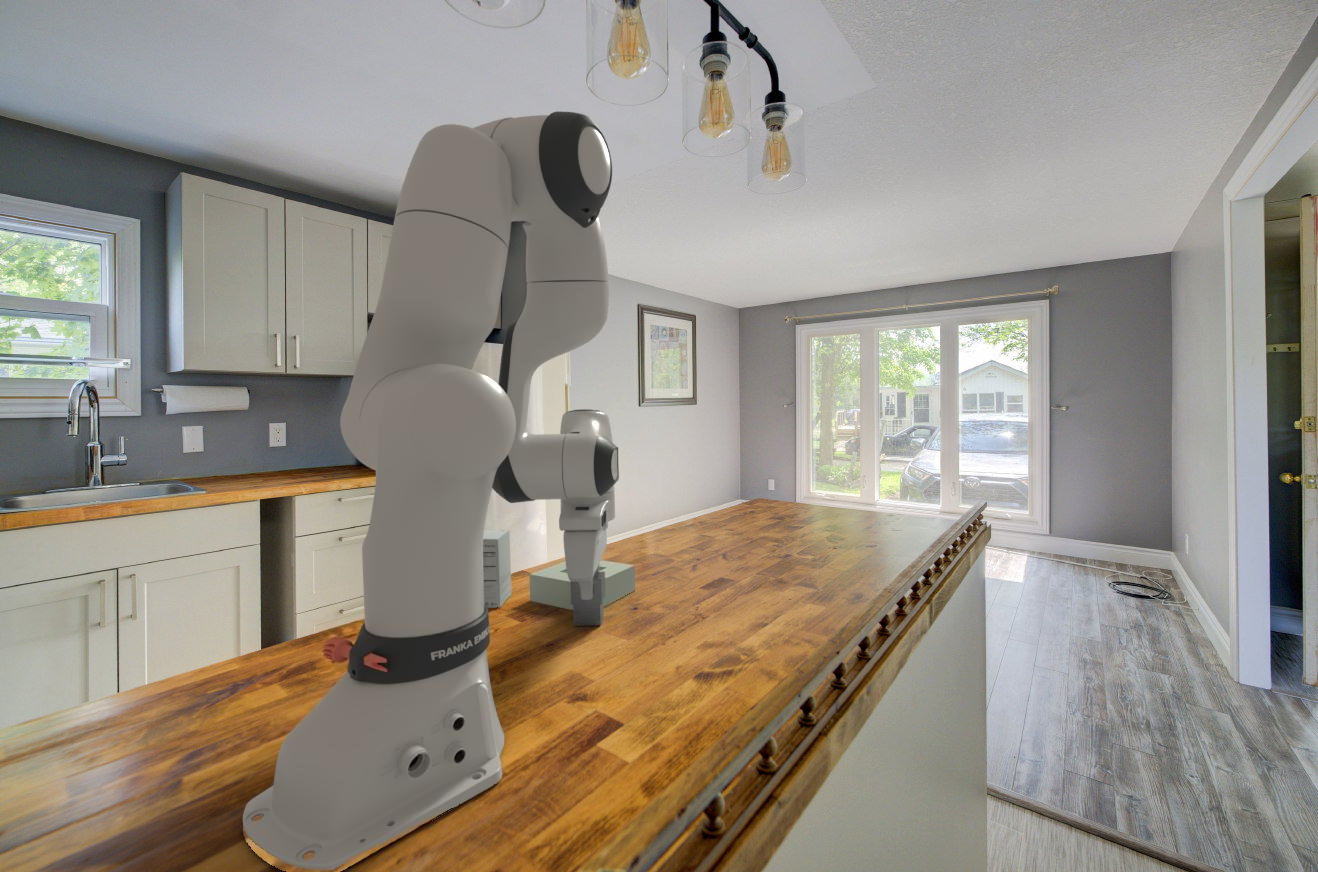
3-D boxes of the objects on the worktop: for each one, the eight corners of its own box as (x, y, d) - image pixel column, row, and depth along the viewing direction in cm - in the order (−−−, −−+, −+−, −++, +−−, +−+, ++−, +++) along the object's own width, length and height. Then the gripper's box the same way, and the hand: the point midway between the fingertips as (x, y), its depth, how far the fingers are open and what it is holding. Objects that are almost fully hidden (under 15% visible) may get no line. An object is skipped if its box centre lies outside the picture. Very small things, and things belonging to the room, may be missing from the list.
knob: (602, 625, 89) (601, 577, 89) (571, 626, 89) (570, 577, 89) (605, 615, 94) (604, 569, 94) (576, 616, 94) (575, 569, 94)
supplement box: (474, 595, 106) (472, 529, 105) (512, 594, 106) (510, 529, 105) (458, 608, 98) (456, 538, 98) (500, 608, 98) (498, 538, 98)
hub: (590, 614, 95) (589, 585, 94) (530, 600, 102) (529, 574, 102) (635, 590, 107) (634, 565, 106) (578, 580, 114) (577, 556, 114)
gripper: (579, 497, 101) (581, 572, 102) (556, 522, 81) (559, 614, 81) (613, 497, 101) (615, 571, 102) (599, 521, 81) (601, 614, 81)
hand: (590, 591), depth 91 cm, fingers open, 5 cm apart
